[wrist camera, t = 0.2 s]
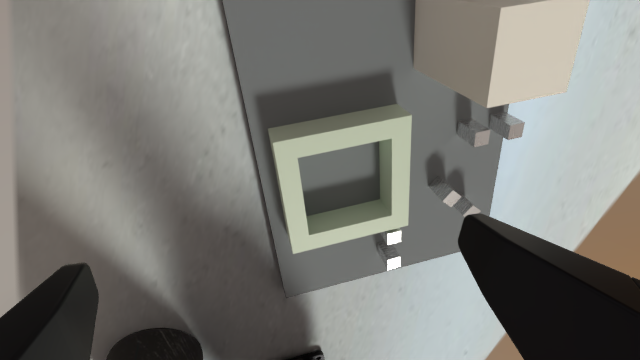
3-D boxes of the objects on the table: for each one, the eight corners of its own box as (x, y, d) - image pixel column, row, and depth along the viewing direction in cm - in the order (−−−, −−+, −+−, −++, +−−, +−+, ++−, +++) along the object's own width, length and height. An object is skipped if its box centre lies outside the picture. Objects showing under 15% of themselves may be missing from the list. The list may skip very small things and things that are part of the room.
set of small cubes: (484, 224, 30) (500, 240, 29) (377, 252, 29) (387, 270, 27) (503, 111, 25) (524, 122, 24) (374, 138, 24) (387, 151, 22)
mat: (477, 237, 33) (484, 245, 32) (283, 288, 30) (285, 298, 29) (525, -66, 21) (538, -66, 20) (216, -28, 18) (216, -27, 17)
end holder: (396, 209, 27) (408, 225, 26) (287, 235, 26) (293, 254, 24) (397, 103, 23) (411, 115, 21) (267, 128, 22) (272, 142, 20)
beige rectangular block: (474, 57, 23) (566, 92, 17) (413, 68, 22) (486, 108, 16) (483, -17, 21) (591, -7, 15) (415, -8, 20) (501, 7, 14)
